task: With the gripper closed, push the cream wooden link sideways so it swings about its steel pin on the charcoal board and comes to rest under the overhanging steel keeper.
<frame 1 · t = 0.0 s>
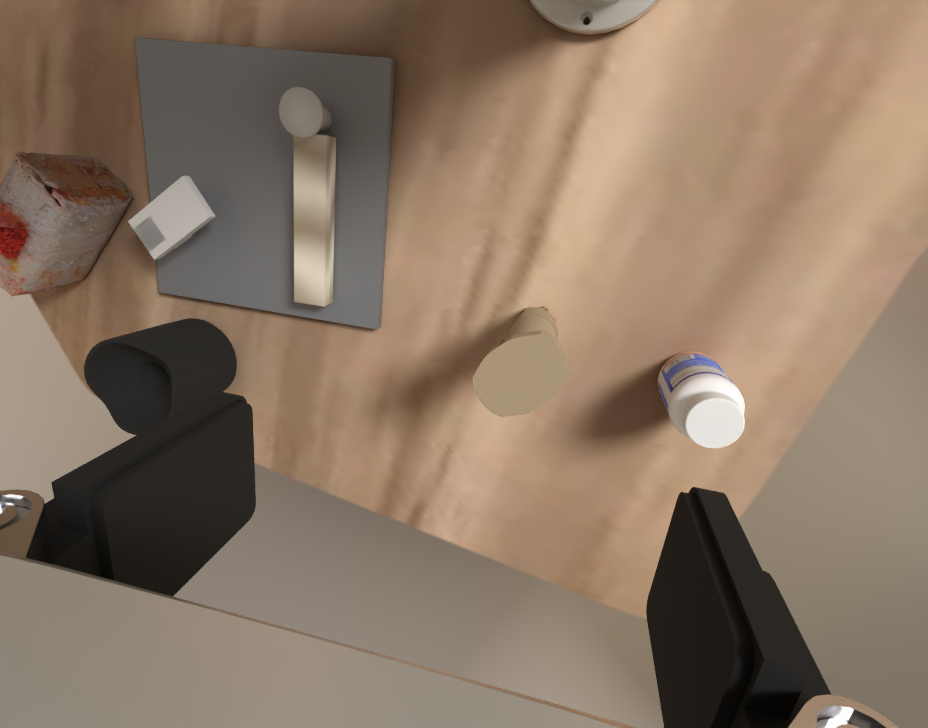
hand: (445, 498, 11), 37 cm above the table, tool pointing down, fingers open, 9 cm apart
handle: (537, 321, 47), on the table
food item: (89, 222, 54), on the table
link: (314, 223, 46), point 2 cm above the table, hinge at 0.0°
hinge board: (327, 120, 45), on the table
pill bottle: (688, 378, 46), on the table
pen holder: (204, 355, 56), on the table
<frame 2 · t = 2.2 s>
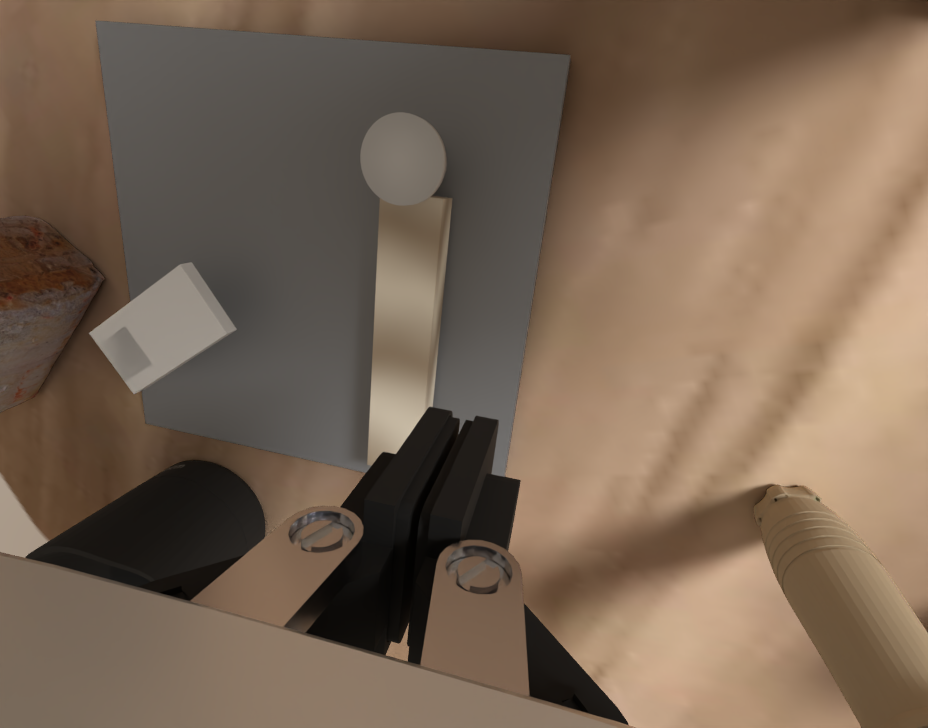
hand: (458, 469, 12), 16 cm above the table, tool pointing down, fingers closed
handle: (783, 504, 27), on the table
food item: (38, 312, 35), on the table
link: (406, 341, 27), point 2 cm above the table, hinge at 0.0°
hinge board: (432, 164, 26), on the table
pen holder: (216, 509, 37), on the table
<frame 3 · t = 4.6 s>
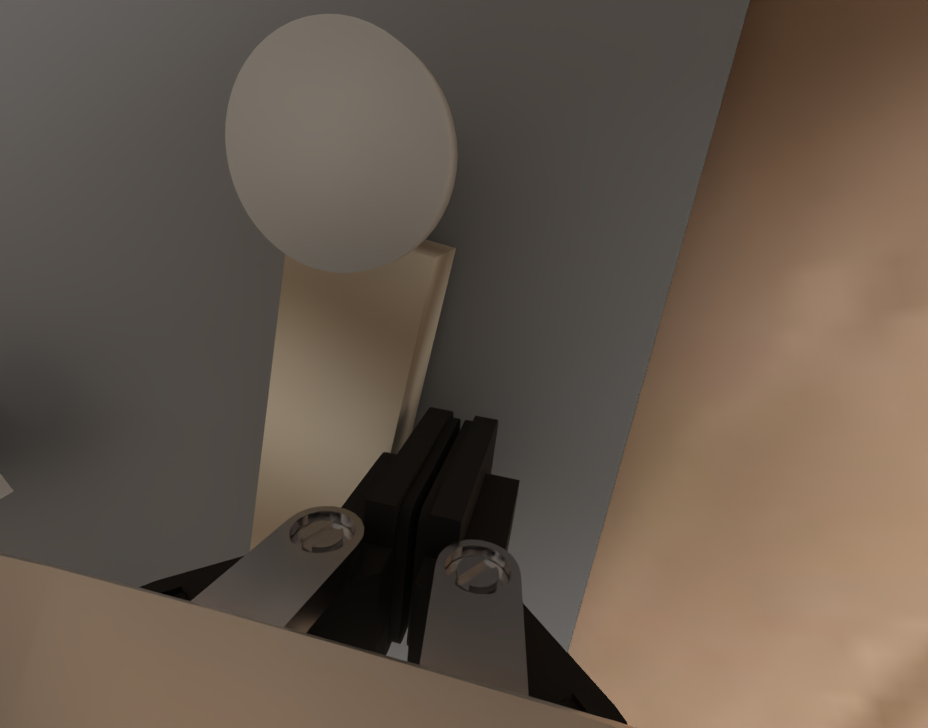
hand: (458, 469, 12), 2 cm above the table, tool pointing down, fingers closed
link: (326, 512, 13), point 2 cm above the table, hinge at -6.4°, touching gripper
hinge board: (422, 167, 12), on the table
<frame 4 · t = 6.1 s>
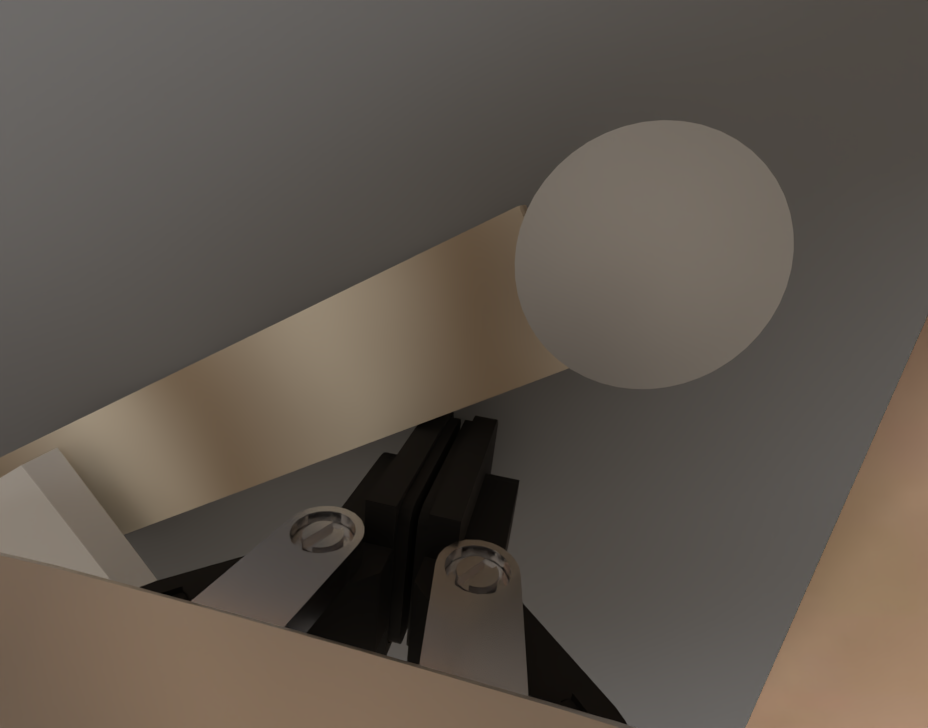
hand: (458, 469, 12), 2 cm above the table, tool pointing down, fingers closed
link: (259, 405, 12), point 2 cm above the table, hinge at -57.0°, touching gripper
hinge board: (614, 239, 11), on the table
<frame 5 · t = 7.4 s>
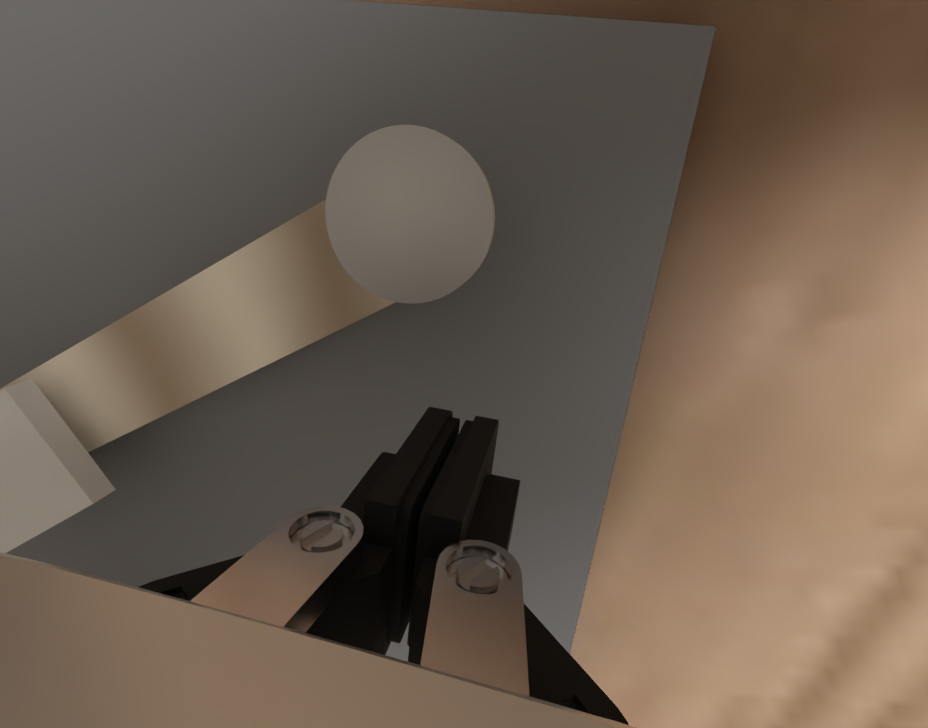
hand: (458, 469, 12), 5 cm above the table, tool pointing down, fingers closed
link: (187, 347, 16), point 2 cm above the table, hinge at -57.0°
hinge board: (451, 215, 15), on the table
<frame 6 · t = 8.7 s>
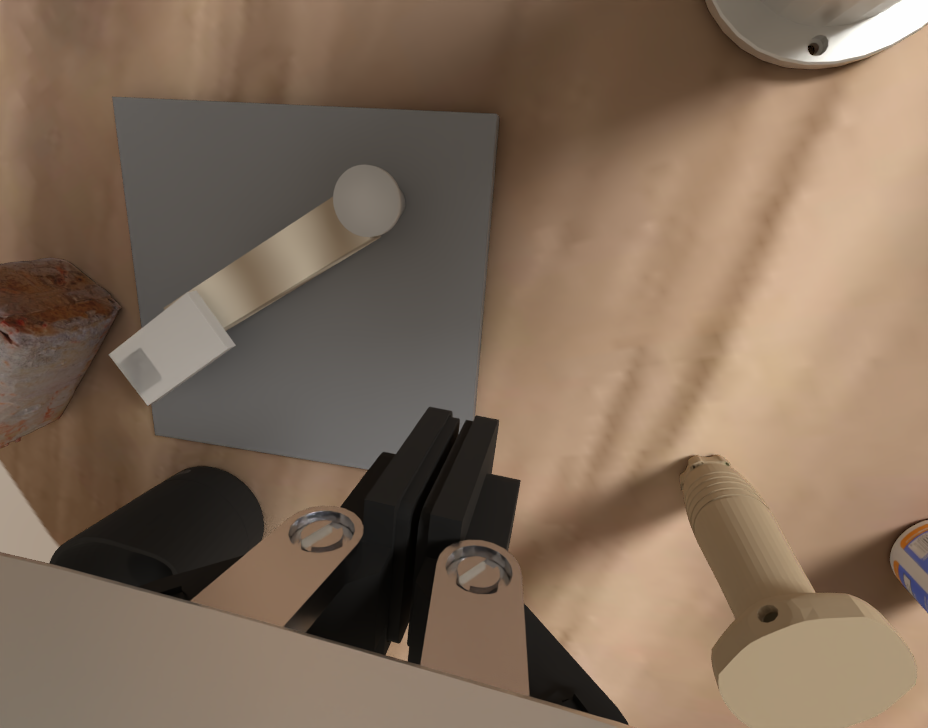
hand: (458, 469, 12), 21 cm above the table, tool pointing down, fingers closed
handle: (704, 472, 33), on the table
food item: (62, 342, 39), on the table
link: (268, 273, 32), point 2 cm above the table, hinge at -57.0°
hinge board: (394, 202, 31), on the table
pen holder: (219, 510, 41), on the table
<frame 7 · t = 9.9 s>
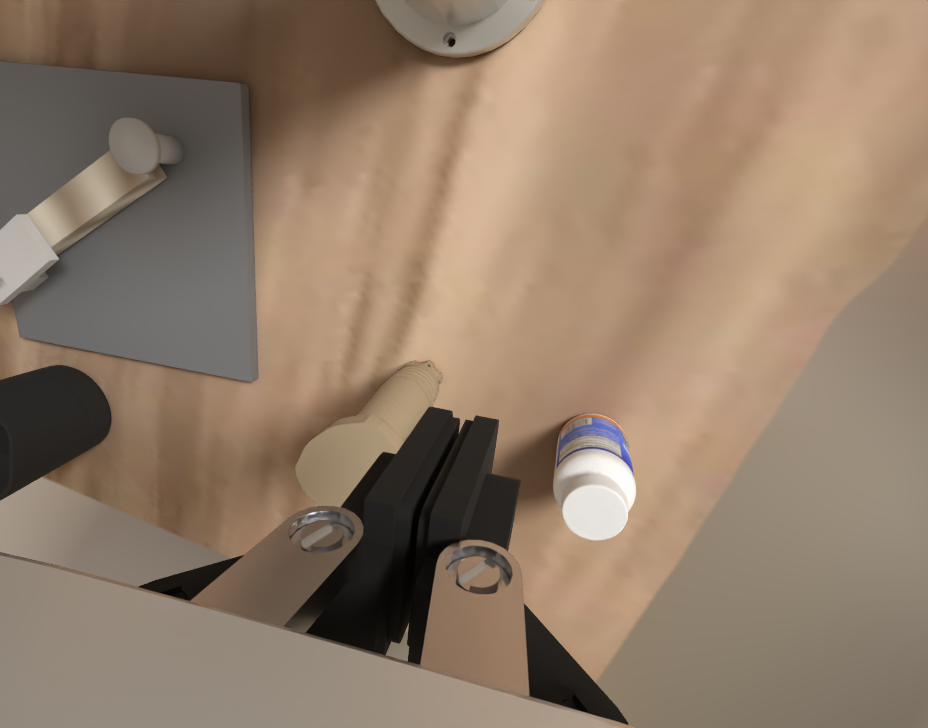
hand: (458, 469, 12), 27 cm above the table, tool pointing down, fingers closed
handle: (425, 375, 42), on the table
link: (85, 203, 40), point 2 cm above the table, hinge at -57.0°
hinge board: (181, 151, 40), on the table
pill bottle: (591, 441, 40), on the table
pen holder: (78, 404, 51), on the table
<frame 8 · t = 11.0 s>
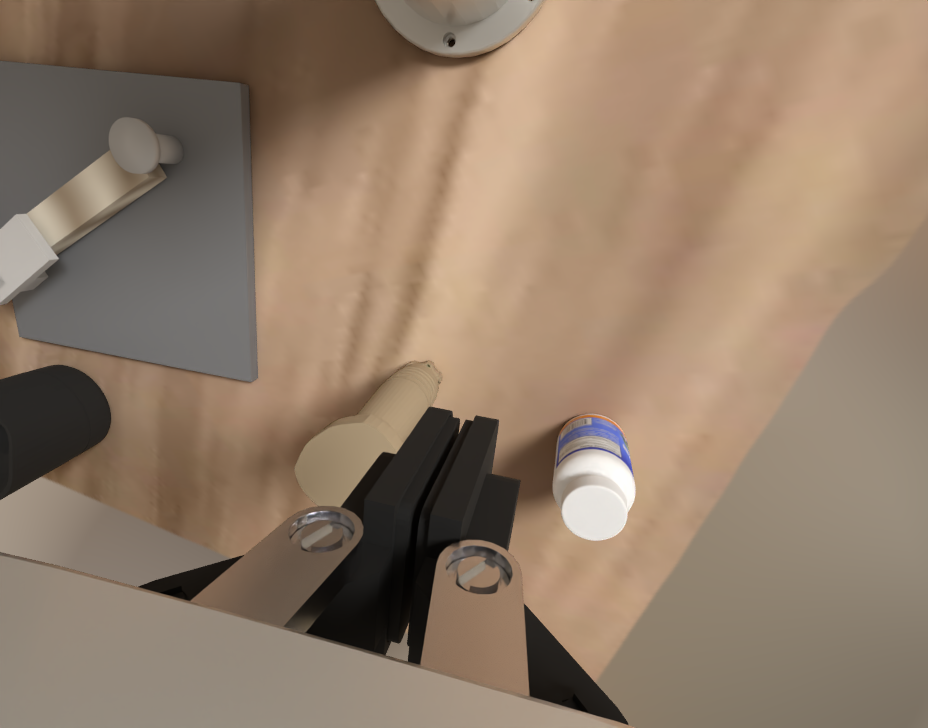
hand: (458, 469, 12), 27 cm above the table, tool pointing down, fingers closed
handle: (424, 375, 42), on the table
link: (84, 203, 40), point 2 cm above the table, hinge at -57.0°
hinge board: (181, 151, 40), on the table
pill bottle: (591, 441, 40), on the table
pen holder: (77, 403, 51), on the table
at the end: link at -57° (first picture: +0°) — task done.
